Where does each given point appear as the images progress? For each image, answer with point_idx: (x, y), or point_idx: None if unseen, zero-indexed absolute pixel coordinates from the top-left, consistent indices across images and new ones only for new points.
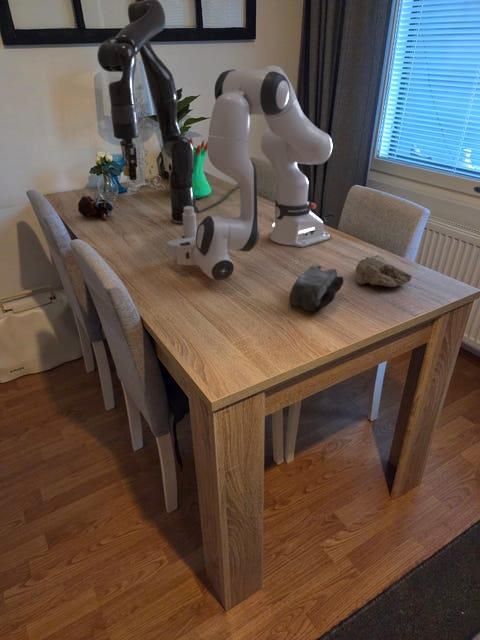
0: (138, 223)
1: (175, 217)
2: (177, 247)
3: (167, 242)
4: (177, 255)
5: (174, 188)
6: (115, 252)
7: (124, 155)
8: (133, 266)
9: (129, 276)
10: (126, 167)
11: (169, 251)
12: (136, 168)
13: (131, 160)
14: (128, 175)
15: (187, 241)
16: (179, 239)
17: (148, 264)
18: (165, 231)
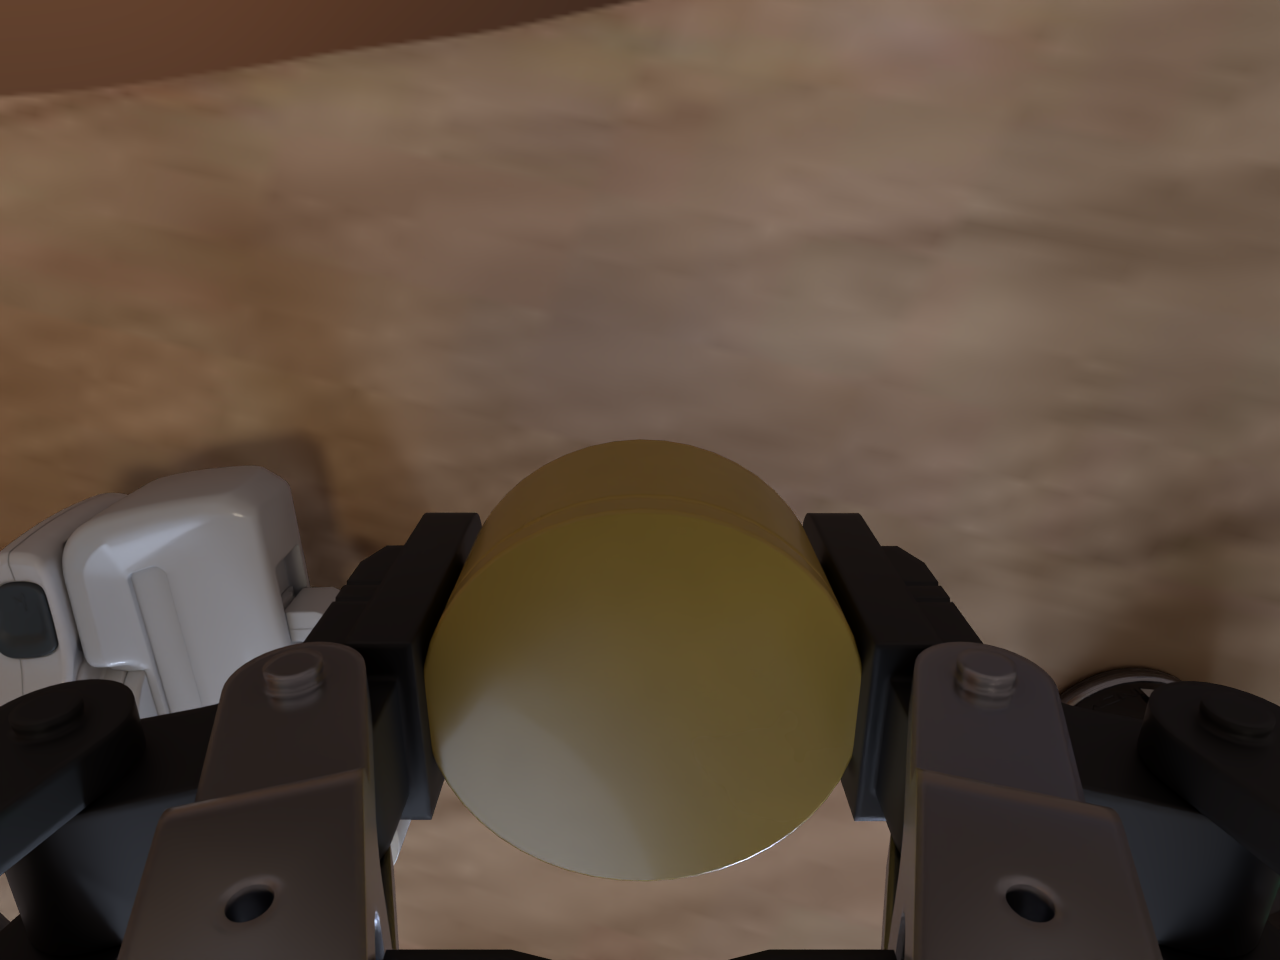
0: (1276, 420)
1: (1111, 708)
2: (3, 550)
3: (192, 507)
4: (49, 517)
5: (1273, 918)
6: (710, 97)
7: (280, 927)
8: (374, 190)
9: (197, 122)
10: (622, 612)
11: (171, 483)
12: (496, 818)
13: (885, 903)
14: (482, 529)
15: (198, 651)
16: (255, 609)
17: (380, 308)
18: (969, 572)
